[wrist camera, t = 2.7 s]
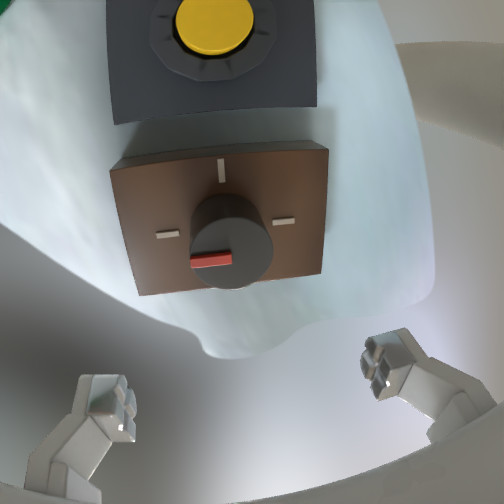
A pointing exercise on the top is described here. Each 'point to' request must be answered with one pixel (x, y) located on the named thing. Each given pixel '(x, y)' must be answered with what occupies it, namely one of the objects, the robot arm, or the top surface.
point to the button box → (208, 61)
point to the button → (214, 24)
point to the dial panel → (215, 183)
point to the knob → (229, 242)
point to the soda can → (4, 5)
